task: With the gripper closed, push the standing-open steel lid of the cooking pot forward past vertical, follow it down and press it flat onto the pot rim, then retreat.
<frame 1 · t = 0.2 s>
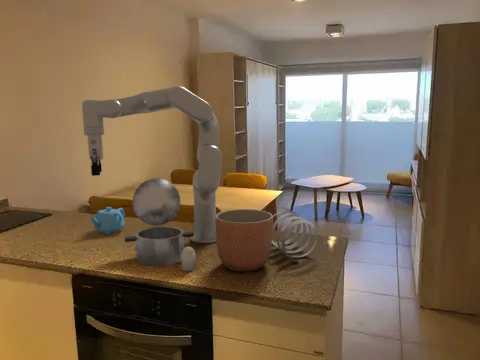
hand: (96, 173, 172), 31 cm above the worktop, fingers open, 9 cm apart
spring: (288, 251, 173), on the worktop
lid: (156, 201, 174), point 19 cm above the worktop, hinge at 105.0°
pot: (160, 257, 165), on the worktop
planter: (244, 266, 156), on the worktop
teapot: (108, 232, 201), on the worktop
salt cellar: (188, 268, 154), on the worktop
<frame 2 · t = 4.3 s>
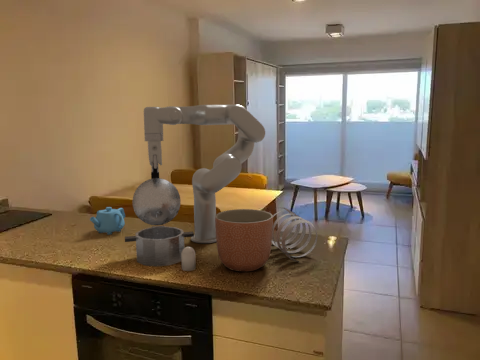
hand: (155, 181, 176), 27 cm above the worktop, fingers closed
lid: (156, 201, 174), point 20 cm above the worktop, hinge at 102.7°, touching gripper
everything else where it was.
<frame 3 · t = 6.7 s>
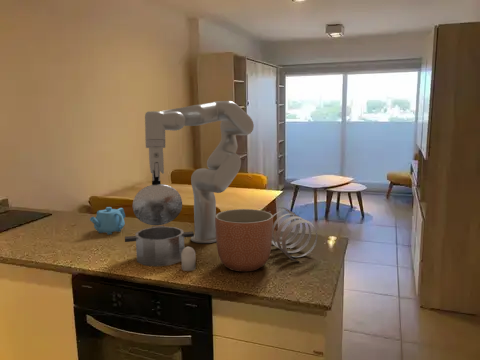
hand: (156, 190, 166), 26 cm above the worktop, fingers closed
lid: (157, 203, 168), point 20 cm above the worktop, hinge at 66.9°, touching gripper
everything else where it was.
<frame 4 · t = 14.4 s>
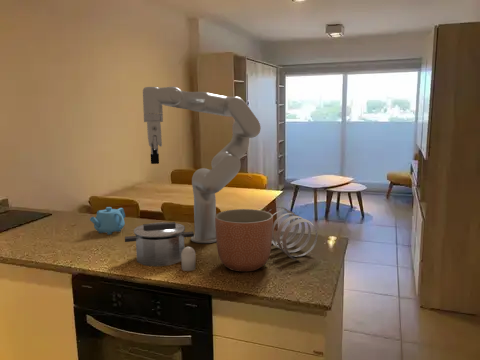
hand: (155, 163, 174), 35 cm above the worktop, fingers closed
lid: (159, 227, 163), point 12 cm above the worktop, hinge at 1.0°
at the end: lid at +1° (first picture: +105°); salt cellar moved 0.0 cm from its start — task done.
